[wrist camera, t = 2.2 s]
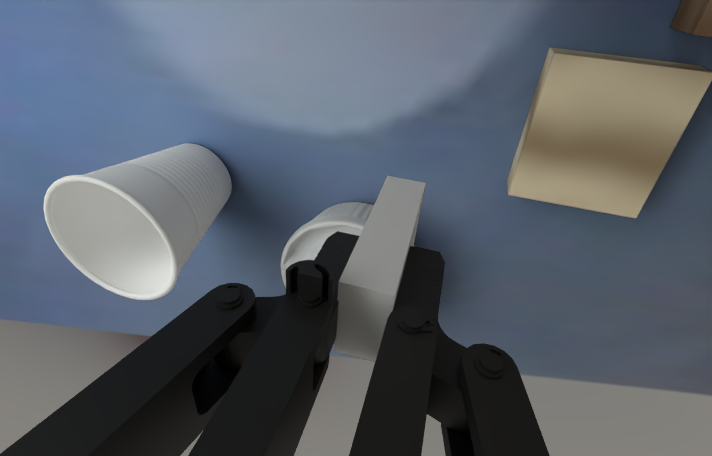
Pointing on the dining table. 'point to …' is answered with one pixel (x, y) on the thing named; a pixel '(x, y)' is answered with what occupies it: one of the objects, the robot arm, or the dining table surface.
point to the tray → (694, 17)
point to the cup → (138, 218)
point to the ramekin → (324, 232)
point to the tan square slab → (603, 129)
